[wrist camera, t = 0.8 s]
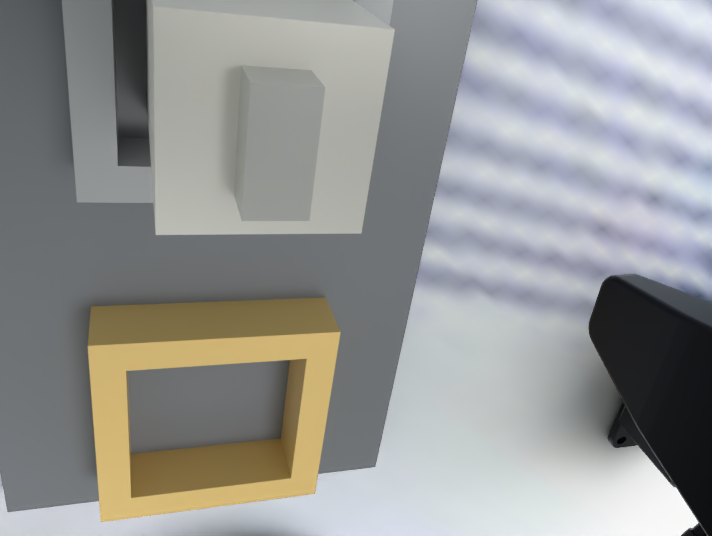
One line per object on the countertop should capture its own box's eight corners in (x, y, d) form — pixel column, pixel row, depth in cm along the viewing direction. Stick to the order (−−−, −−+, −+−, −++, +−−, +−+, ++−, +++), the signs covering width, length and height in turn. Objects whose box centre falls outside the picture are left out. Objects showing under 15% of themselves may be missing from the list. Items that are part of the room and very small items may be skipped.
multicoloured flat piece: (489, -135, 18) (546, -132, 16) (368, 449, 29) (390, 504, 26) (-113, -247, 14) (-165, -267, 11) (11, 490, 25) (-2, 560, 22)
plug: (306, -31, 17) (415, 42, 11) (292, 118, 19) (376, 258, 13) (144, -51, 16) (155, 20, 9) (147, 112, 18) (157, 262, 11)
